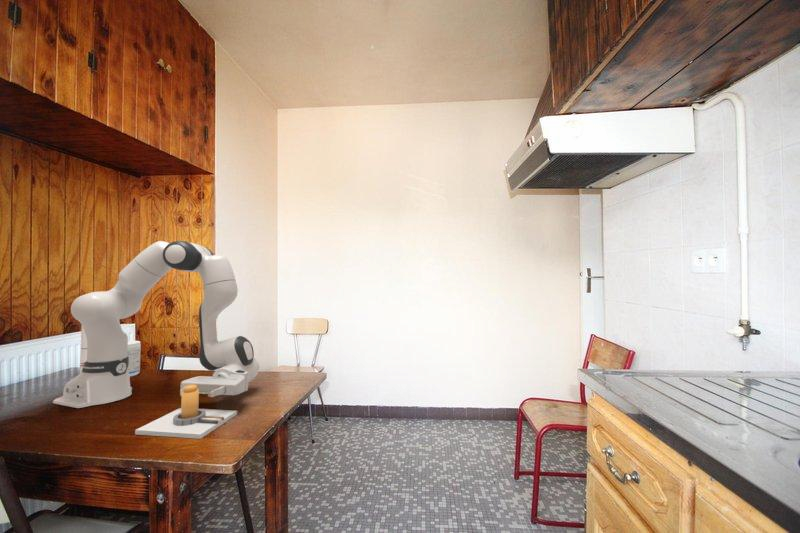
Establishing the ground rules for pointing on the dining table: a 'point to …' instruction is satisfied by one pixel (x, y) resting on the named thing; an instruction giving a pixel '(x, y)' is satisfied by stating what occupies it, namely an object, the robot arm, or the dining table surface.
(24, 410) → the dining table surface
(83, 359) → the cylindrical container
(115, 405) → the dining table surface
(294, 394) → the dining table surface
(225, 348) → the robot arm
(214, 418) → the plate
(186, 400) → the tan capped bottle
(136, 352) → the supplement tub
